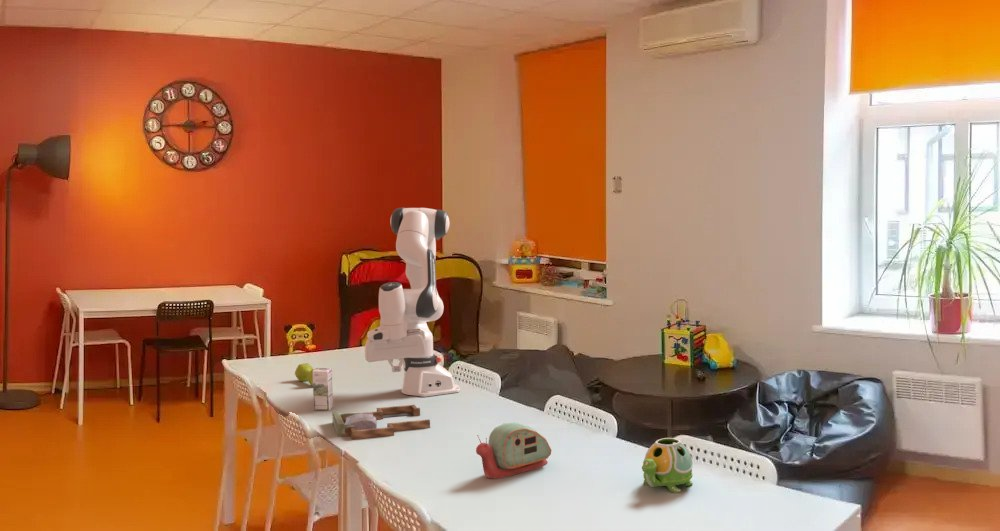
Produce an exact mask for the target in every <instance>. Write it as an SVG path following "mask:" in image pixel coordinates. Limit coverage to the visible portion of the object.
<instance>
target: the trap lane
mask: <svg viewBox="0 0 1000 531" xmlns="http://www.w3.org/2000/svg"><path fill="white" fill-rule="evenodd" d="M370 413H372V414H373V417H375V418H376V420H377V421H378V420H383V419H385V418H387V419H388V418H396V417H408V416H414V417H416V416H417V417H419V416H421V408H420V407H417V406H416V404H407V405H406V404H405V405H397V406H394V405H393V406H384V407H382V406H381V407H376V411H369V412H367V411H365V412H358V411H357V412H356V411H354V412H344V413H343V412H342V413H340V412H339V410H332V412H331V414H332V417H331V418H332V425H333V427H334V429H335V432H336V433H337V436H338V437H348V436H350V438H351V439H352V440H360V439H370V438H380V437H381V438H382V437H390V436H391V437H392V436H395V432H401V431H409V430H410V431H411V430H420V429H431V420H430V419H420V420H419V419H418V420H410V421H398V422H388V423H386V424H387V426H386V427H377V428H375V429H365V430H355V429H354V425H352V426H346V424H345V422H346V418H347V417H349V416H352V415H355V414H370Z"/></svg>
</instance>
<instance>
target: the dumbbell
mask: <svg viewBox="0 0 1000 531" xmlns="http://www.w3.org/2000/svg"><path fill="white" fill-rule="evenodd" d="M314 369H315V368H313V367H312V365H311V364H310V363H305V362H304V363H299V364H298V366H297V367H296V369H295V372H294V375H295V377H296V378H297V380H298V381H299V382H301V383H302V382H308V383H309V385H310V386H311V387H312V388H313V373H312V372H313V370H314Z"/></svg>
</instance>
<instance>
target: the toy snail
mask: <svg viewBox="0 0 1000 531" xmlns="http://www.w3.org/2000/svg"><path fill="white" fill-rule="evenodd" d="M476 436H477V437H478V440H479V444H478V445H477V446H476V448H475V451H476V452H475V453H476V454H477V455H478V456H479V457H481V463H482V469H483V474H484V476H485V477H486V478H488V479H495V480H497V479H502V478H505V477H512V476H513V475H519V474H523V473H525V472H529V471H533V470H536V469H538V468H541V467H543V466H547V464H548V462H549V461H547V459H548V458H549V457H550V456H551V455H552V448H551V447H550V445H549V443H548V440H547V438H546V437H545V436H544V435H543V434H541V433H540V432H538V431H537V430H535V428H532V427H530V426H529V425H528V426H527V425H524V424H522V423H518V422H507V423H502V424H500V425H497V426H496V427H494V428H493V430H492V431H491V432H490V433H489V436H488V438H487V437H486V438H485V442H482V441H481V439H480V436H479V434H477V435H476ZM487 440H488V441H487ZM487 442H488V443H487Z"/></svg>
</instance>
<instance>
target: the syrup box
mask: <svg viewBox="0 0 1000 531" xmlns="http://www.w3.org/2000/svg"><path fill="white" fill-rule="evenodd" d="M313 369H314V370H313V372H312V373H313V387H312V395H313V397H312V398H313V410H314V411H330V410H331V409H332V408H333V407H334V399H333V397H334V395H333V369H332V368H331V367H316V368H313Z"/></svg>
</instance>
